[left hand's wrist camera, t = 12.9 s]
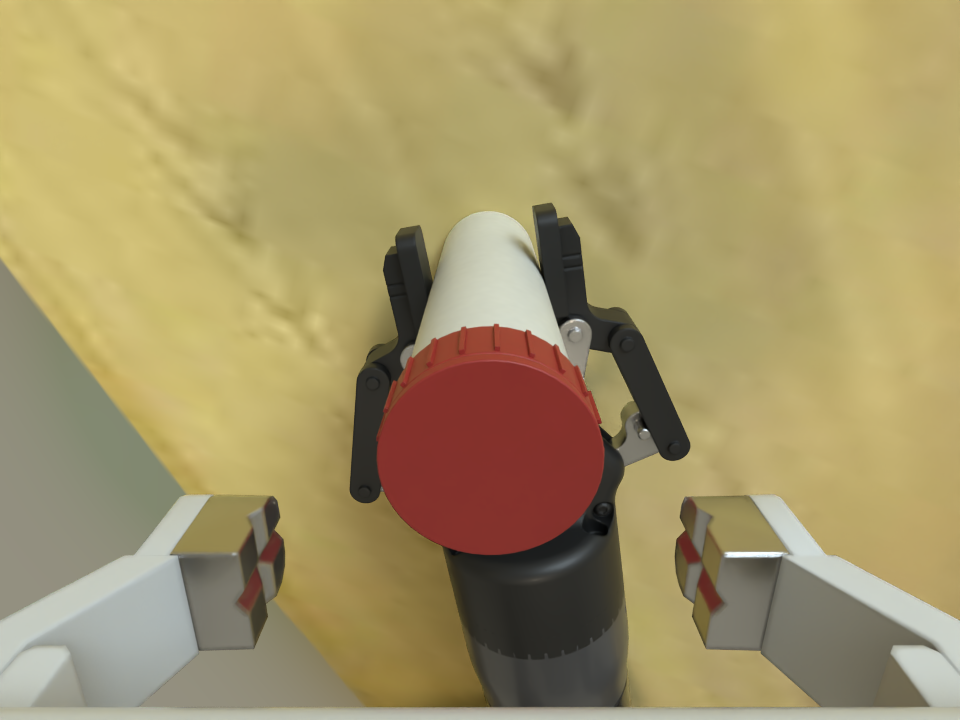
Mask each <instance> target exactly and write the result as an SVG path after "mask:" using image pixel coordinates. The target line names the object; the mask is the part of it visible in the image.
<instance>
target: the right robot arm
mask: <svg viewBox="0 0 960 720" xmlns="http://www.w3.org/2000/svg"><path fill="white" fill-rule="evenodd" d="M532 209H533V218H534V225H535V232H536V239H537V247H538V254H539V261H540V269H541V274H542V277H543V280H544V283H545V286H546V290H547V293H548V296H549V299H550V302H551V305H552V309H553V312H554V315H555V318H556V321H557V324H558V328H559V331H560V334H561V337H562V340H563V343H564V346H565V350H566V353H567V356H568V359H569V361H570V362H571V363H572V365H573V366H574V367H575V366H576V365H578V367H579V368H580V371H581V374H582V377H583V380H584V375H585V369H586V364H587V359H588V354H589V349H592V350H598V351H604V352H610V353H612V355H613V357H614V359H615V361H616V363H617V365H618V367H619V370H620V372H621V374H622V376H623V378H624V380H625V382H626V384H627V386H628V389H629V391H630V393H631V395H632V397H633V399H634V401H631V402H629V403H627V404H626V406H625V407H624V408H623V409H622V411H621V415H620V416H621V421H622V428H621V430H620V432H619V433H618V434H617V435H616V436H614V437H613V438H612V437H611V436H610V435H609V434H608V433H607V432H606V431H605V430H604V429H602V428H601V427H600V426H599V428H600V432H601V436H602V440H603V446H604V449H605V450H604V469H603V473H602V478H601V482H600V484H599V487H598V490H597V493H596V494H595V496H594V498H593V500H592V502H591V504H590V505H589V507H588V508H587V509H586V511H585V512H584V513H583V515H582V516H581V517H580V518H579V519H578V520H577V521H576V522H575V523H574V524H573V525H572V526H571V527H569V528H568V529H567V530H566V531H564V532H563V533H562V534H560V535H558V536H557V537H555V538H554V539H552V540H550V541H548V542H546V543H544V544H542V545H540V546H537V547H534V548H531V549H528V550H525V551H520V552H516V553H510V554H502V555H480V554H470V553H465V552H460V551H456V550H453V549H450V548H447V547H444V546H443V551H444V555H445V559H446V563H447V567H448V571H449V575H450V579H451V583H452V587H453V591H454V596H455V600H456V604H457V608H458V612H459V616H460V620H461V624H462V628H463V632H464V636H465V641H466V645H467V649H468V652H469V655H470V659H471V662H472V665H473V667H474V670H475V672H476V674H477V676H478V678H479V680H480V683H481V685H482V688H483V691H484V695H485V699H486V703H487V707H632V706H631V698H630V689H629V680H628V671H627V654H628V640H629V636H628V620H627V611H626V602H625V593H624V583H623V573H622V564H621V554H620V545H619V536H618V526H617V517H616V508H615V494H616V491H617V488H618V486H619V484H620V482H621V480H622V478H623V475H624V468H625V466H627V465H629V464H632V463H634V462H637V461H639V460H641V459H644V458H646V457H649V456H651V455H653V454H656V453H658V452H659V453H660V455H661V456H662V457H663V458H664V459H666V460H670V461H676V460H679V459H682V458H683V457H685V456H686V455H687V453H688V452H689V450H690V441H689V439H688V437H687V435H686V432H685V430H684V428H683V426H682V423H681V421H680V419H679V417H678V414H677V412H676V410H675V408H674V406H673V403H672V401H671V399H670V397H669V394H668V392H667V390H666V388H665V385H664V383H663V381H662V379H661V376H660V374H659V372H658V370H657V367H656V365H655V363H654V361H653V358H652V356H651V354H650V352H649V350H648V347H647V345H646V343H645V341H644V338H643V336H642V335H641V333H640V332H639V330H638V328H637V327H636V325H635V324H634V322H633V321H632V319H631V318H630V316H629V315H628V313H627V312H626V311H625V310H624V309H622V308H618V307H613V308H609V309H603V308H598V307H594V306H592V305H590V304H588V303H587V298H586V289H585V280H584V271H583V262H582V254H581V244H580V237H579V235H578V233H577V232H576V230H575V228H574V226H573V224H572V223H571V221H570V220H569V219H568V217H564V218H558V219H557V213H556V209H555V207H554V206H553V204H552V203H547V204H541V205H535V206H532ZM395 241H396V246H392V247H391V248H390V249H389V251H388V252H387V254H386V255H385V261H384V268H383V272H384V276H385V281H386V285H387V289H388V293H389V296H390V301H391V306H392V310H393V314H394V318H395V322H396V326H397V331H398V337H397V338H396V339H394V340H392V341H390V342H389V343H387V344H378V345H375V346H374V347H372V348H371V350H370V351H369V353H368V356H367V359H366V363H365V365H364V367H363V368H362V369H361V371H360V373H359V375H358V377H357V384H356V400H355V415H354V431H353V446H352V462H351V477H350V493H351V495H352V497H353V498H354V499H355V500H357V501H358V502H361V503H371V502H373V501H375V500H376V499H377V498H378V497H379V495H380V491H382V492H384V490H383V488H382V485H381V482H380V478H379V474H378V468H377V445H378V441H376V437H377V434H378V431H379V428H380V425H381V422H382V419H383V415H384V412H383V410H384V407H385V404H386V401H387V398H388V395H389V392H390V389H391V386H392V383H393V381H398V379H399V377H400V375H401V373H402V371H403V370H404V369H405V366H406V363H407V360H408V358H409V357H410V356H412V353H413V349H414V346H415V342H416V339H417V335H418V332H419V329H420V325H421V322H422V318H423V315H424V312H425V308H426V305H427V301H428V298H429V294H430V291H431V288H432V284H433V281H432V276H431V272H430V267H429V262H428V257H427V252H426V248H425V243H424V238H423V234H422V230H421V227H420V225H418V226H412V227H406V228H401V229H400V230H399V232H398V233H397V235H396V237H395Z"/></svg>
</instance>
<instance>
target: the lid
mask: <svg viewBox="0 0 960 720" xmlns="http://www.w3.org/2000/svg"><path fill="white" fill-rule="evenodd" d="M383 412H384V415H383V419H382V422H381V425H380V428H379V431H378V434H377V437H376V441H378V445H377V468H378V474H379V478H380V482H381V485H382V488H383V490H384V492H385V495H386V497H387V499H388V500H389V502H390V503H391V505H392V507H393V508H394V510H395V511H396V512H397V513H398V515H399V516H400V517H401V518H402V519H403V520H404V521H405V522H406V523H407V524H408V525H409V526H410V527H411V528H413V529H414V530H415V531H417V532H418V533H419V534H421V535H422V536H424V537H426V538H427V539H429V540H431V541H433V542H435V543H437V544H439V545H442V546H444V547H447V548H450V549H453V550H456V551H460V552H465V553H470V554H480V555H502V554H510V553H516V552H520V551H525V550H528V549H531V548H534V547H537V546H540V545H542V544H544V543H546V542H548V541H550V540H552V539H554V538H555V537H557V536H558V535H560V534H562V533H563V532H564V531H566V530H567V529H568V528H569V527H571V526H572V525H573V524H574V523H575V522H576V521H577V520H578V519H579V518H580V517H581V516H582V515H583V513H584V512H585V511H586V509H587V508H588V507H589V505H590V504H591V502H592V500H593V498H594V496H595V494H596V493H597V490H598V487H599V484H600V482H601V478H602V473H603V469H604V450H605V449H604V446H603V440H602V436H601V432H600V428H599V425H598V424H601V423H602V422H601V419H600V416H599V413H598V410H597V407H596V405H595V402H594V399H593V396H592V393H591V391H587V388H586V385H585V383H584V380H583V377H582V374H581V371H580V368H579V367H578V365H576V366H575V367H574V366H573V365H572V363H571V362H570V361H569V360H568V359H567V357H566V356H564V355H563V354H562V353H561V352H560V349H559V346H558V345H556V344H554V346H552V345H551V344H549V343H548V342H547V341H545V340H543V339H541V338H539V337H537V336H535V335H533V334H531V331H530V330H526V331H525V332H524V331H522V330H517V329H513V328H508V327H499V324H494V326H480V327H473V328H466V326H464V327H461V330H459V331H456V332H453V333H450V334H448V335H445V336H443V337H441V338H439V339H436V338H433V339H432V340H431V343H430V344H429V345H428V346H426V347H425V348H424V349H422V350H421V351H420V352H419V353H418V354H417V355H416V356H415V357H414V358H412V357H411V356H410V357H409V358H408V360H407V363H406V366H405V369H404V370H403V371H402V373H401V375H400V377H399V379H398V381H393V383H392V386H391V389H390V392H389V395H388V398H387V401H386V404H385V407H384V410H383Z"/></svg>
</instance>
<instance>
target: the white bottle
mask: <svg viewBox="0 0 960 720" xmlns="http://www.w3.org/2000/svg"><path fill="white" fill-rule="evenodd" d="M494 324H499V327H508V328H513V329H517V330H522V331H524V332H525V331H526V330H530V331H531V334H533V335H535V336H537V337H539V338H541V339H543V340H545V341H547V342H548V343H549V344H551V345H552V346H554V344H556V345H558V346H559V349H560V352H561V353H562V354H563V355H564V356H566V357H567V359H568V356H567V353H566V350H565V346H564V343H563V340H562V337H561V334H560V331H559V328H558V324H557V321H556V318H555V315H554V312H553V309H552V305H551V302H550V299H549V296H548V293H547V290H546V286H545V283H544V280H543V277H542V274H541V271H540V267H539V264H538V261H537V258H536V255H535V252H534V248H533V245H532V242H531V240H530V237H529V235H528V233H527V232H526V230H525V229H524V228H523V226H522V225H521V224H519V223H518V222H517V221H516V220H515V219H513V218H511V217H510V216H508V215H505V214H503V213H499V212H493V211H483V212H477V213H474V214H471V215H469V216H467V217H465V218H463V219H462V220H460V221H459V222H458V223H457V224H456V225H455V226H454V227H453V228H452V230H451V231H450V232H449V234H448V236H447V238H446V240H445V243H444V246H443V250H442V253H441V257H440V260H439V264H438V267H437V270H436V274H435V277H434V281H433V284H432V288H431V291H430V294H429V298H428V301H427V305H426V308H425V312H424V315H423V318H422V322H421V325H420V329H419V332H418V335H417V339H416V342H415V346H414V349H413V353H412V356H411V357H412V358H414V357H415V356H416V355H417V354H418V353H419V352H420V351H421V350H422V349H424V348H425V347H426V346H428V345H429V344H430V343H431V340H432V339H433V338H436V339H439V338H441V337H443V336H445V335H448V334H450V333H453V332H456V331H459V330H461V327H464V326H466V328H473V327H480V326H494ZM568 360H569V359H568Z"/></svg>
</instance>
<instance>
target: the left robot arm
mask: <svg viewBox="0 0 960 720" xmlns="http://www.w3.org/2000/svg"><path fill="white" fill-rule="evenodd" d="M279 519H280V513H279V508H278V502H277V500H276V499H275V498H274V497H273V496H255V495H212V494H211V495H184V496H182V497H179V498H178V500H177V501H176V502H175V503H174V505H173V506H172V507H171V508H170V510H169V511H168V512H167V514H166V515H165V516H164V517H163V519H162V520H161V521H160V522H159V524H158V525H157V526H156V528H155V529H154V530H153V531H152V533H151V534H150V535H149V536H148V538H147V539H146V540H145V541H144V543H143V544H142V545H141V546H140V548H139V549H138V550H137V551H136V553H135V554H134V555H124V556H122V557H120V558H118V559H116V560H114V561H112V562H111V563H109V564H107V565H105V566H103V567H101V568H99V569H97V570H95V571H93V572H91V573H90V574H88V575H86V576H84V577H82V578H80V579H78V580H76V581H74V582H72V583H70V584H68V585H67V586H65V587H63V588H61V589H59V590H57V591H55V592H53V593H51V594H49V595H48V596H46V597H44V598H42V599H40V600H38V601H36V602H34V603H32V604H31V605H29V606H27V607H25V608H23V609H21V610H19V611H17V612H15V613H13V614H11V615H9V616H8V617H6V618H4V619H2V620H0V720H960V620H958V619H956V618H954V617H952V616H950V615H948V614H946V613H945V612H943V611H941V610H939V609H937V608H935V607H933V606H931V605H929V604H927V603H926V602H924V601H922V600H920V599H918V598H916V597H914V596H912V595H910V594H908V593H907V592H905V591H903V590H901V589H899V588H897V587H895V586H893V585H891V584H889V583H888V582H886V581H884V580H882V579H880V578H878V577H876V576H874V575H872V574H870V573H869V572H867V571H865V570H863V569H861V568H859V567H857V566H855V565H853V564H851V563H850V562H848V561H846V560H844V559H842V558H840V557H838V556H836V555H826V554H825V553H824V552H823V550H822V549H821V548H820V547H819V545H818V544H817V543H816V541H815V540H814V539H813V538H812V536H811V535H810V534H809V533H808V531H807V530H806V529H805V528H804V526H803V525H802V524H801V523H800V521H799V520H798V519H797V518H796V516H795V515H794V514H793V512H792V511H791V510H790V509H789V507H788V506H787V505H786V504H785V502H784V501H783V500H782V499H781V498H780V497H779V496H777V495H775V494H764V495H744V496H698V497H685V498H684V500H683V503H682V506H681V512H680V519H681V521H682V523H683V525H684V527H685V529H686V530H685V531H684V532H683V533H682V534H681V535H680V536H679V537H678V538H677V540H676V549H675V566H676V575H677V579H678V583H679V586H680V589H681V591H682V594H683V596H684V597H686V598H687V599H688V600H690V601H691V602H692V603H694V608H693V614H692V617H693V620H694V622H695V624H696V627H697V629H698V631H699V634H700V636H701V638H702V641H703V643H704V645H705V648H706V649H720V650H756V651H761V654H762V655H763V656H764V657H766V658H767V659H768V660H769V661H770V662H771V663H772V664H773V665H775V666H776V667H777V668H778V669H779V670H780V671H781V672H782V673H784V674H785V675H786V676H787V677H788V678H789V679H790V680H792V681H793V682H794V683H795V684H796V685H797V686H798V687H799V688H801V689H802V690H803V691H804V692H805V693H806V694H807V695H808V696H810V697H811V698H812V699H813V700H814V701H815V702H816V703H817V704H819V705H820V706H821V707H139V706H140V705H142V704H143V703H144V702H145V701H146V700H147V699H148V698H149V697H151V696H152V695H153V694H154V693H155V692H156V691H157V690H159V689H160V688H161V687H162V686H163V685H164V684H165V683H166V682H168V681H169V680H170V679H171V678H172V677H173V676H174V675H176V674H177V673H178V672H179V671H180V670H181V669H182V668H183V667H185V666H186V665H187V664H188V663H189V662H190V661H191V660H192V659H194V658H195V657H196V656H197V655H198V654H199V651H204V650H238V649H254V648H255V645H256V643H257V641H258V638H259V636H260V634H261V631H262V629H263V627H264V624H265V622H266V620H267V617H268V614H267V608H266V603H268V602H269V601H270V600H272V599H273V598H274V597H276V596H277V593H278V591H279V588H280V586H281V583H282V579H283V573H284V568H285V548H284V540H283V538H282V537H281V536H280V535H279V534H278V533H277V532H276V531H275V530H274V529H275V527H276V525H277V523H278V521H279Z"/></svg>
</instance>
